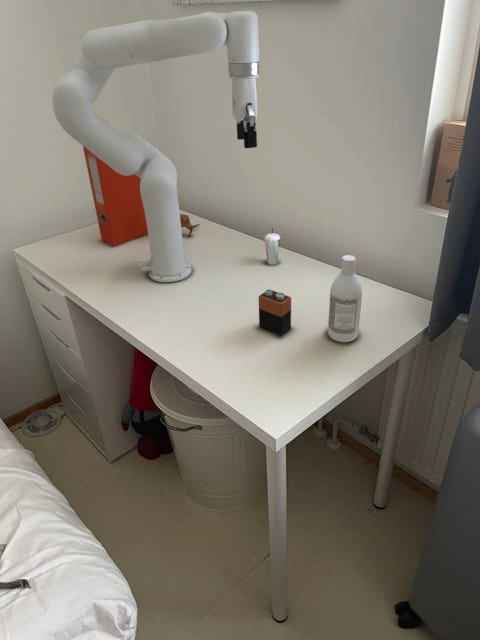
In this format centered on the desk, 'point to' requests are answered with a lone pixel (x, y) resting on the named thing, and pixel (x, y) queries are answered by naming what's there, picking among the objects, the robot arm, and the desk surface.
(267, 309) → the battery
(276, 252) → the milkshake
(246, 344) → the desk surface
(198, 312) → the desk surface
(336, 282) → the bath foam
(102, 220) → the file binder
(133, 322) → the desk surface
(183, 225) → the cat figurine
